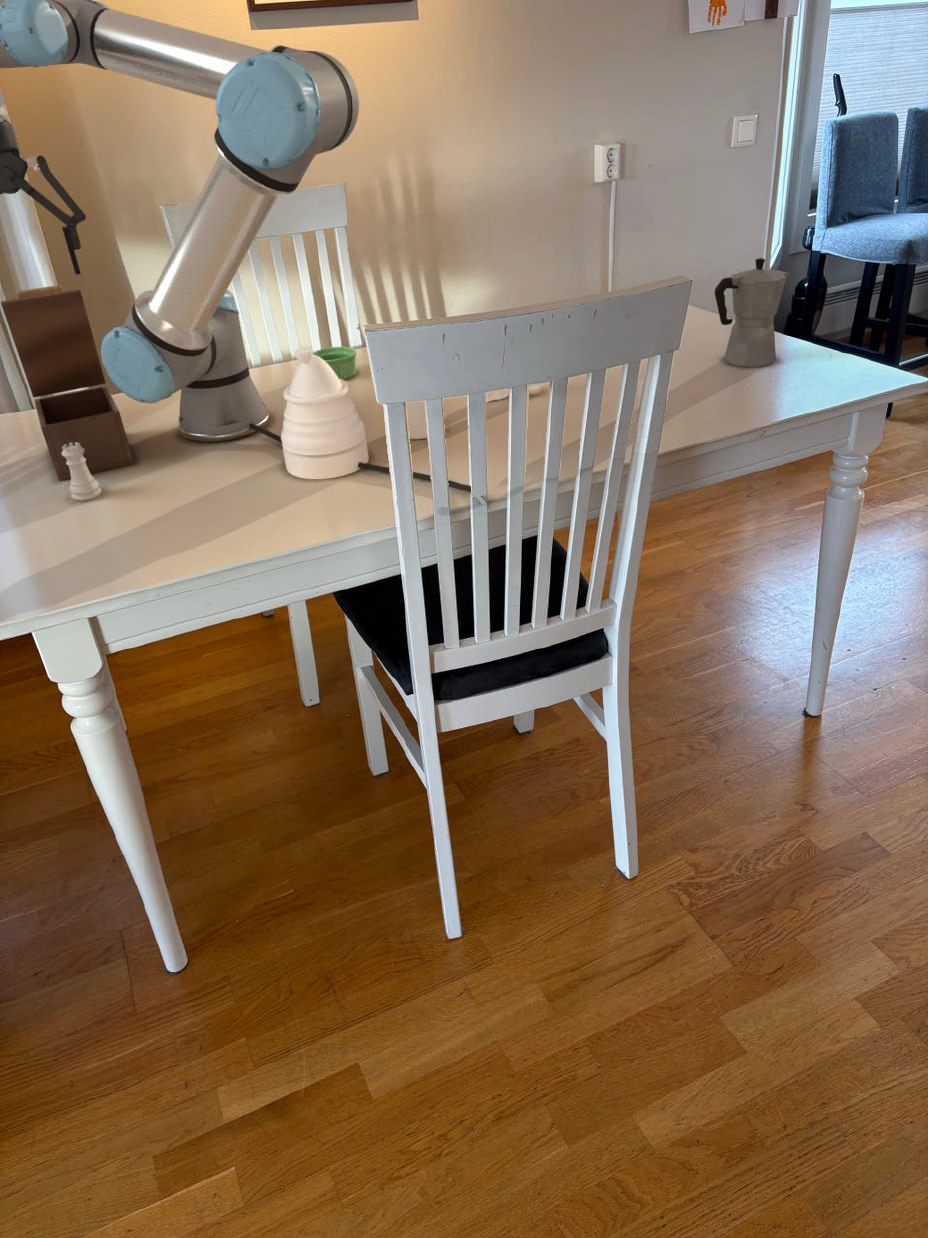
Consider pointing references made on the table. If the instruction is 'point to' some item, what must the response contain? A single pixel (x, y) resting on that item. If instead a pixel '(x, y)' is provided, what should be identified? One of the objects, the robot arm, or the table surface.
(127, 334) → the robot arm
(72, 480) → the rook chess piece
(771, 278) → the coffeepot
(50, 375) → the box lid
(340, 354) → the ramekin
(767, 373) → the table surface
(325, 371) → the honey pot
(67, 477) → the box
